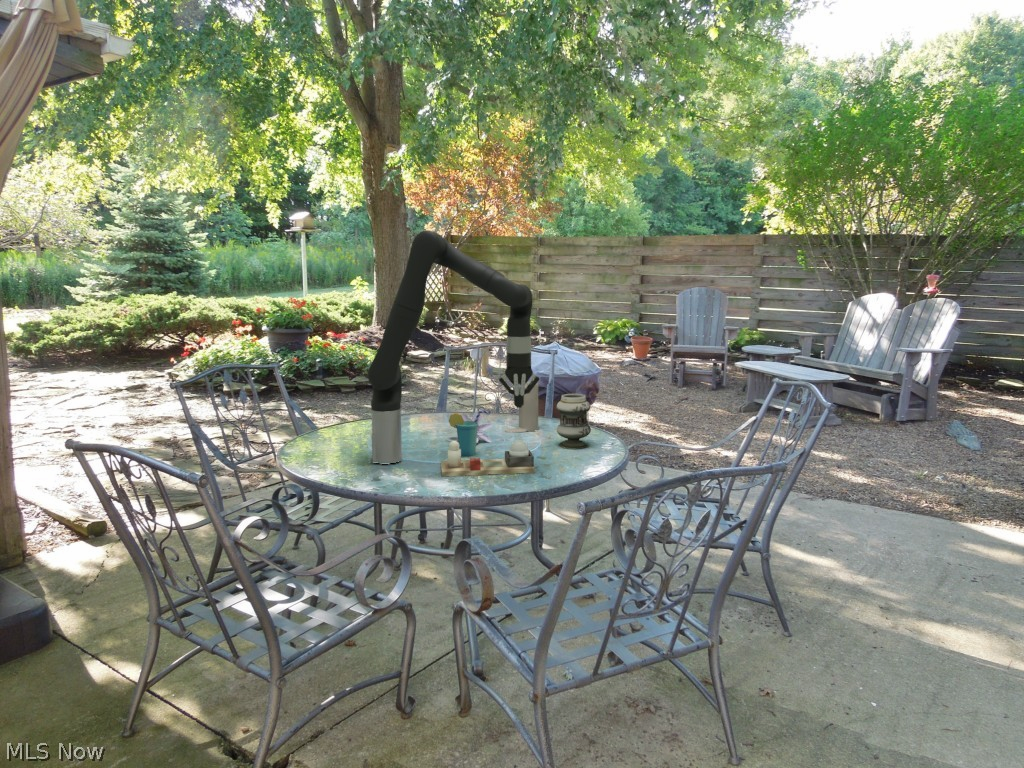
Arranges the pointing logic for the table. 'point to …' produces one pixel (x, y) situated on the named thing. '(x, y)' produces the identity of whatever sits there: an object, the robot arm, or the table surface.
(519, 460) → the board
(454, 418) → the cup
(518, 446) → the pale round cylinder
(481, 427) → the water lily
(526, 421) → the candle
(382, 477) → the table surface
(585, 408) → the apothecary jar
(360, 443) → the table surface
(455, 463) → the pawn
